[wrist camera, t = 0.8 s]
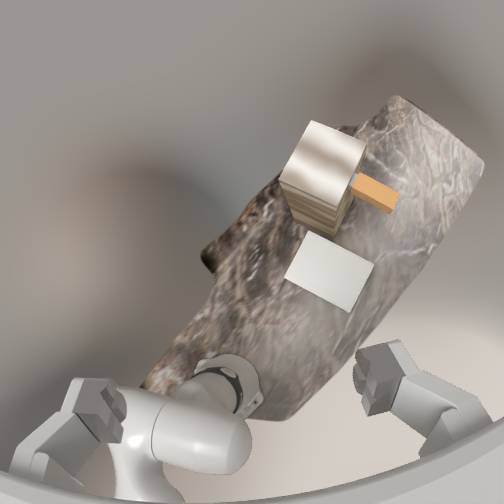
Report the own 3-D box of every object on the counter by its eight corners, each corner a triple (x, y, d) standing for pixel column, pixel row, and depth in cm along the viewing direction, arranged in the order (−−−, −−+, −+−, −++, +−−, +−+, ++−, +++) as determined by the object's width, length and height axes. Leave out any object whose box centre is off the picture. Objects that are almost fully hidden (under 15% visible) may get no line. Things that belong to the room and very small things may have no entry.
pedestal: (344, 309, 71) (349, 312, 56) (292, 281, 74) (283, 277, 59) (364, 271, 71) (374, 264, 56) (312, 244, 74) (308, 230, 60)
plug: (388, 213, 49) (393, 209, 46) (320, 178, 52) (321, 171, 49) (395, 198, 49) (400, 193, 46) (327, 163, 52) (329, 156, 49)
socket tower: (332, 240, 73) (336, 206, 46) (295, 221, 76) (278, 179, 49) (354, 197, 74) (367, 143, 46) (317, 179, 76) (311, 120, 49)
